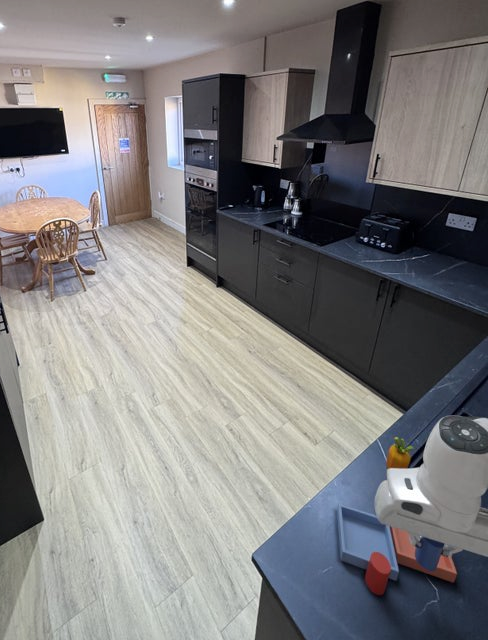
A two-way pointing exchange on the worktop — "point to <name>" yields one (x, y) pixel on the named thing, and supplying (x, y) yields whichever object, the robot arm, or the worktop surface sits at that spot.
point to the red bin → (407, 558)
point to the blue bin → (364, 538)
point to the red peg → (377, 573)
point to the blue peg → (429, 553)
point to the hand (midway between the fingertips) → (428, 547)
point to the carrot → (398, 455)
